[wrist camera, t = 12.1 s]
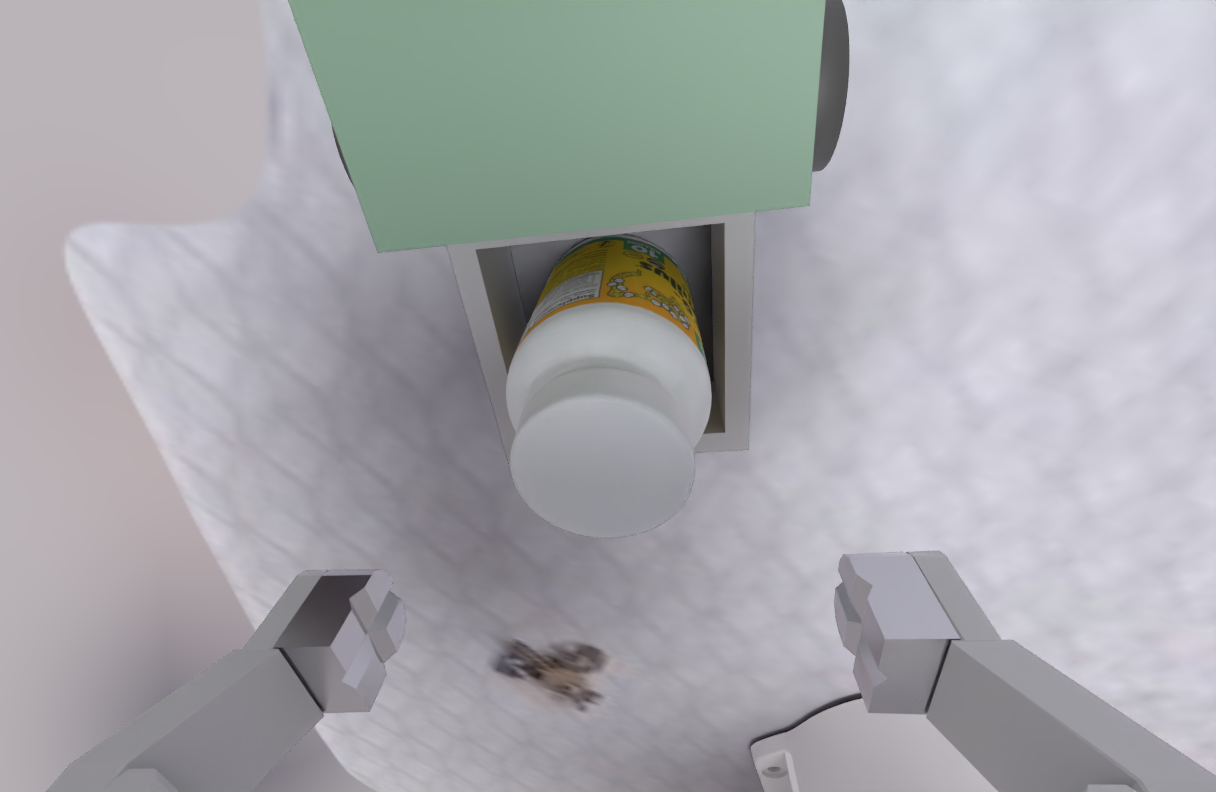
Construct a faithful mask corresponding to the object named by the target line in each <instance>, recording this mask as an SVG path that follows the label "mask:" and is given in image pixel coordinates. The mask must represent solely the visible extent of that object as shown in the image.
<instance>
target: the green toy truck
mask: <svg viewBox="0 0 1216 792" xmlns="http://www.w3.org/2000/svg"><path fill="white" fill-rule="evenodd" d="M288 2H289V5H290V7H291V10H292V13H293V16H294V19H295V21H296V24H297V27H298V30H299V33H300V36H301V38H302V41H303V44H304V47H305V50H306V52H307V55H308V58H309V61H310V64H311V67H312V69H313V72H314V75H315V78H316V81H317V83H318V86H319V89H320V92H321V95H322V97H323V100H324V103H325V106H326V109H327V112H328V114H329V117H330V120H331V123H332V129H333V134H334V138H335V142H336V145H337V149H338V152H339V155H340V158H341V160H342V163H343V165H344V168H345V170H346V172H347V174H348V177H349V179H350V181H351V182H352V184H353V186H354V188H355V190H356V193H357V196H358V199H359V202H360V204H361V207H362V210H363V213H364V216H365V218H366V221H367V224H368V227H369V230H370V232H371V235H372V238H373V241H374V244H375V247H376V249H377V252H378V253H382V252H391V251H400V250H410V249H419V248H428V247H437V246H446V245H447V249H448V252H449V256H450V259H451V263H452V266H453V270H454V273H455V277H456V281H457V284H458V288H459V291H460V295H461V298H462V302H463V305H464V309H465V312H466V316H467V319H468V323H469V326H470V330H471V333H472V337H473V340H474V344H475V348H476V351H477V355H478V358H479V362H480V365H481V369H482V372H483V376H484V379H485V383H486V386H487V390H488V393H489V397H490V400H491V404H492V408H493V411H494V415H495V418H496V422H497V425H498V429H499V432H500V436H501V439H502V443H503V446H504V450H505V453H506V457H507V460H508V464H510V454H511V448H512V444H513V441H514V438H515V434H516V431H515V429H514V427H513V425H512V422H511V420H510V416H509V413H508V408H507V402H506V383H507V376H508V372H509V368H510V365H511V362H512V359H513V357H514V354H515V352H516V349H517V347H518V345H519V342H520V340H521V338H522V336H523V334H524V331H525V329H526V327H527V324H526V319H525V315H524V310H523V306H522V301H521V297H520V292H519V287H518V283H517V278H516V274H515V269H514V265H513V260H512V256H511V251H510V247H509V246H514V245H523V244H532V243H541V242H551V241H560V240H569V239H579V238H588V237H597V236H606V235H616V234H625V233H634V232H644V231H653V230H662V229H671V228H681V227H690V226H699V225H709V224H711V252H712V310H713V369H714V381H710V383H711V394H712V399H711V410H710V415H709V420H708V423H707V425H706V428H705V430H704V432H703V434H702V436H701V438H700V440H699V442H698V443H697V445H696V446H695V447H694V453H703V452H721V451H738V450H749V425H750V387H751V348H752V310H753V271H754V233H755V212H757V211H766V210H775V209H784V208H794V207H803V206H809V205H810V192H811V179H812V172H813V171H820V170H822V169H824V168H825V167H826V166H827V164H828V163H829V161H830V159H831V157H832V155H833V153H834V150H835V148H836V145H837V141H838V138H839V135H840V131H841V127H842V122H843V117H844V111H845V105H846V98H847V89H848V77H849V34H848V24H847V17H846V12H845V8H844V5H843V2H842V0H288Z"/></svg>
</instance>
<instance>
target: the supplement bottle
mask: <svg viewBox="0 0 1216 792" xmlns="http://www.w3.org/2000/svg"><path fill="white" fill-rule="evenodd" d="M711 399H712V394H711V383H710V376H709V372H708V367H707V362H706V358H705V354H704V349H703V345H702V340H701V336H700V332H699V328H698V323H697V320H696V315H695V310H694V305H693V301H692V296H691V292H690V288H689V285H688V282H687V279H686V277H685V275H684V273H683V272H682V270H681V268H680V267H679V265H678V264H677V263H676V261H675V260H674V259H673V258H672V257H671V256H670V255H669V254H668V253H667V252H665V251H664V250H663V249H661V248H660V247H658V246H656V245H654V244H652V243H650V242H648V241H645V240H643V239H640V238H637V237H634V236H630V235H625V234H616V235H606V236H597V237H592V238H590V239H587V240H585V241H583V242H581V243H579V244H578V245H576V246H575V247H573V248H572V249H570V250H569V251H568V252H567V253H566V254H565V255H564V256H563V257H562V258H561V259H560V260H559V261H558V262H557V264H556V265H555V267H554V268H553V270H552V272H551V273H550V275H549V277H548V279H547V281H546V283H545V286H544V288H543V290H542V293H541V295H540V298H539V300H538V302H537V305H536V307H535V309H534V312H533V314H532V316H531V318H530V320H529V322H528V324H527V327H526V329H525V331H524V334H523V336H522V338H521V340H520V342H519V345H518V347H517V349H516V352H515V354H514V357H513V359H512V362H511V365H510V368H509V372H508V376H507V383H506V402H507V408H508V413H509V416H510V420H511V422H512V425H513V427H514V429H515V431H516V434H515V438H514V441H513V444H512V448H511V454H510V470H511V475H512V479H513V482H514V484H515V487H516V489H517V491H518V493H519V494H520V496H521V498H522V499H523V501H524V502H525V503H526V504H527V505H528V506H529V508H530V509H531V510H532V511H533V512H535V513H536V514H537V515H538V516H539V517H541V518H542V519H544V520H545V521H547V522H548V523H550V524H552V525H554V526H556V527H558V528H560V529H563V530H565V531H568V532H571V533H574V534H578V535H582V536H587V537H593V538H619V537H627V536H633V535H637V534H640V533H643V532H646V531H648V530H651V529H653V528H655V527H657V526H659V525H661V524H662V523H664V522H666V521H667V520H668V519H669V518H671V517H672V516H673V515H674V514H675V513H676V512H677V511H678V510H679V509H680V508H681V507H682V506H683V504H684V503H685V502H686V500H687V498H688V496H689V494H690V492H691V490H692V486H693V482H694V476H695V457H694V447H695V446H696V445H697V443H698V442H699V440H700V438H701V436H702V434H703V432H704V430H705V428H706V425H707V423H708V420H709V415H710V410H711Z"/></svg>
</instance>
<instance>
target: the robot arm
mask: <svg viewBox="0 0 1216 792" xmlns="http://www.w3.org/2000/svg"><path fill="white" fill-rule="evenodd" d="M838 571H839V574H840V576H841V579H842V581H843V582H842V583H841V584H840V585H839V586H838V587H836V588H835V598H834V607H835V618H836V622H837V626H838V631H839V634H840V637H841V640H842V642H843V645H844V647H845V648H847V649H848V650H849V651H850V652H851V653H852V654H853V655H855V656H856V658H855V663H854V669H853V673H854V676H855V679H856V681H857V684H858V687H859V690H860V692H861V695H862V699H858V700H854V701H850V702H847V703H843V704H840V705H837V706H835V707H832V708H829V709H827V710H825V711H823V712H821V713H819V714H817V715H815V716H813V717H811V718H809V719H808V720H806V721H805V722H803V723H802V724H800V725H799V726H797V727H796V728H794V729H792V730H790V731H788V732H785V733H782V734H778V735H775V736H772V737H768V738H765V739H762V740H760V741H758V742H756V743H754V744H753V745H752V746H751V753H752V757H753V761H754V764H755V767H756V770H757V773H758V776H759V778H760V781H761V784H762V786H763V789H764V792H1216V776H1215V775H1214V774H1212V773H1211V772H1209V771H1208V770H1206V769H1205V768H1203V767H1202V766H1200V765H1199V764H1197V763H1196V762H1194V761H1193V760H1191V759H1190V758H1188V757H1187V756H1185V755H1184V754H1182V753H1181V752H1179V751H1178V750H1176V749H1175V748H1173V747H1172V746H1170V745H1169V744H1168V743H1166V742H1165V741H1163V740H1162V739H1160V738H1159V737H1157V736H1156V735H1154V734H1153V733H1151V732H1150V731H1148V730H1147V729H1145V728H1144V727H1142V726H1141V725H1139V724H1138V723H1136V722H1135V721H1133V720H1132V719H1130V718H1129V717H1127V716H1126V715H1124V714H1123V713H1121V712H1120V711H1118V710H1117V709H1115V708H1114V707H1112V706H1111V705H1109V704H1108V703H1106V702H1105V701H1103V700H1102V699H1100V698H1099V697H1097V696H1096V695H1094V694H1093V693H1091V692H1090V691H1088V690H1087V689H1085V688H1084V687H1083V686H1081V685H1080V684H1078V683H1077V682H1075V681H1074V680H1072V679H1071V678H1069V677H1068V676H1066V675H1065V674H1063V673H1062V672H1060V671H1059V670H1057V669H1056V668H1054V667H1053V666H1051V665H1050V664H1048V663H1047V662H1045V661H1044V660H1042V659H1041V658H1039V657H1038V656H1036V655H1035V654H1033V653H1032V652H1030V651H1029V650H1027V649H1026V648H1024V647H1023V646H1021V645H1020V644H1018V643H1017V642H1015V641H1014V640H1002V639H1001V637H1000V636H999V634H998V633H997V631H996V630H995V628H994V627H993V625H992V624H991V622H990V621H989V619H988V618H987V616H986V615H985V613H984V612H983V610H982V609H981V607H980V606H979V604H978V603H977V601H976V600H975V598H974V597H973V595H972V594H971V592H970V591H969V589H968V588H967V586H966V585H965V583H964V582H963V580H962V579H961V577H960V576H959V574H958V573H957V571H956V570H955V568H954V567H953V565H952V564H951V562H950V561H949V559H948V558H947V556H946V555H945V554H943V553H942V552H940V551H919V552H906V553H905V552H886V553H862V554H843V555H842V557H841V559H840V562H839V568H838ZM392 584H393V581H392V580H391V578H390V576H389V574H388V572H387V570H379V569H359V570H306V571H304V572H302V573H301V574H299V575H298V576H296V578H295V579H294V580H293V582H292V583H291V584H290V586H289V587H288V589H287V590H286V591H285V593H284V594H283V595H282V597H281V598H280V599H279V601H278V602H277V603H276V605H275V606H274V607H273V609H272V610H271V611H270V613H269V614H268V616H267V617H266V618H265V620H264V621H263V622H262V624H261V625H260V626H259V628H258V629H257V630H256V632H255V633H254V635H253V636H252V637H251V639H250V640H249V641H248V643H247V644H246V645H245V647H244V648H243V649H236V650H233V651H232V652H230V653H229V654H227V655H226V656H225V657H223V658H222V659H220V660H219V661H217V662H216V663H214V664H213V665H212V666H210V667H209V668H207V669H206V670H204V671H203V672H202V673H200V674H199V675H197V676H196V677H194V678H193V679H192V680H190V681H189V682H187V683H186V684H184V685H183V686H181V687H180V688H179V689H177V690H176V691H174V692H173V693H171V694H170V695H169V696H167V697H166V698H164V699H163V700H161V701H160V702H158V703H157V704H156V705H154V706H153V707H151V708H150V709H148V710H147V711H145V712H144V713H143V714H141V715H140V716H138V717H137V718H136V719H134V720H133V721H131V722H130V723H128V724H127V725H125V726H124V727H123V728H121V729H120V730H118V731H117V732H115V733H114V734H112V735H111V736H110V737H108V738H107V739H105V740H104V741H103V742H101V743H100V744H98V745H97V746H95V747H94V748H92V749H91V750H89V751H88V752H87V753H85V754H84V755H82V756H81V757H79V758H78V759H76V760H75V761H74V762H72V763H71V764H69V766H68V767H67V768H66V769H65V770H64V771H63V773H62V774H61V775H60V776H59V777H58V779H57V780H56V781H55V782H54V783H53V784H52V785H51V786H50V788H49V789H48V790H47V791H46V792H251V791H252V790H253V789H254V787H256V785H257V784H258V783H259V782H260V781H261V780H262V779H263V778H264V777H265V776H266V775H267V774H268V773H269V772H270V771H271V770H272V769H273V768H274V767H275V766H276V765H277V764H278V763H279V762H280V761H281V760H282V759H283V758H284V757H285V755H287V754H288V752H290V751H291V749H292V748H293V747H294V746H295V745H296V744H297V743H298V742H299V741H300V740H301V739H302V738H303V737H304V736H305V735H306V734H307V733H308V732H309V731H310V730H311V729H312V728H313V727H314V726H315V725H316V724H317V723H318V722H319V721H320V720H321V719H322V718H323V717H324V714H323V713H343V712H370V710H371V708H372V705H373V703H374V701H375V699H376V697H377V694H378V692H379V690H380V688H381V686H382V683H383V681H384V679H385V677H386V670H385V666H384V662H385V661H387V660H388V659H389V658H390V657H391V656H392V655H393V654H394V653H396V652H397V650H398V648H399V646H400V643H401V641H402V639H403V636H404V630H405V624H406V615H405V608H404V605H403V603H402V601H401V599H400V598H399V597H397V596H396V595H395V594H393V593H392V592H390V591H389V590H390V588H391V586H392Z"/></svg>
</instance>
